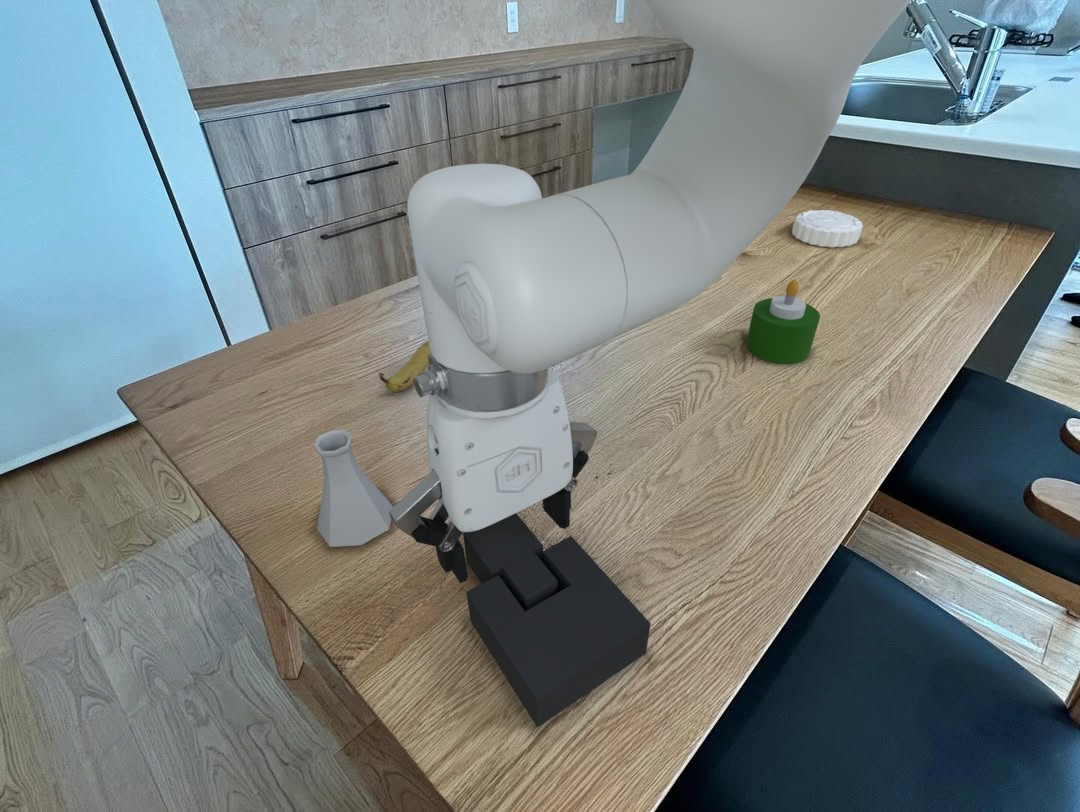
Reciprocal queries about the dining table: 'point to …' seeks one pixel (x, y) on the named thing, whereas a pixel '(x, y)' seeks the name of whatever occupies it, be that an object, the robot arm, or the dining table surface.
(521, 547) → the pad
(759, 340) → the candle
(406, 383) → the banana
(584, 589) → the notch pad
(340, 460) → the flask
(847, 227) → the mooncake
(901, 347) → the dining table surface
